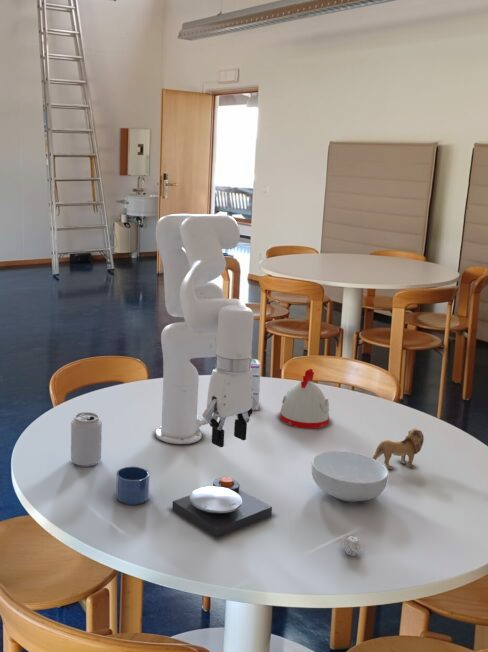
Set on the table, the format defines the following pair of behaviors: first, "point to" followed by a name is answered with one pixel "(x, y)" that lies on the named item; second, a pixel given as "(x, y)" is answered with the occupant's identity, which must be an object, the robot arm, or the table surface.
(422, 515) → the table surface
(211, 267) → the robot arm
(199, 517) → the scale
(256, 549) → the table surface
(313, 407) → the kitchen timer
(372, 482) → the cereal bowl
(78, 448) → the can
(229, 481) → the button
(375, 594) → the table surface
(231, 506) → the pan
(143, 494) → the blue cup
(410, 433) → the lion figurine
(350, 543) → the game die
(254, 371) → the syrup box
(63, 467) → the table surface
